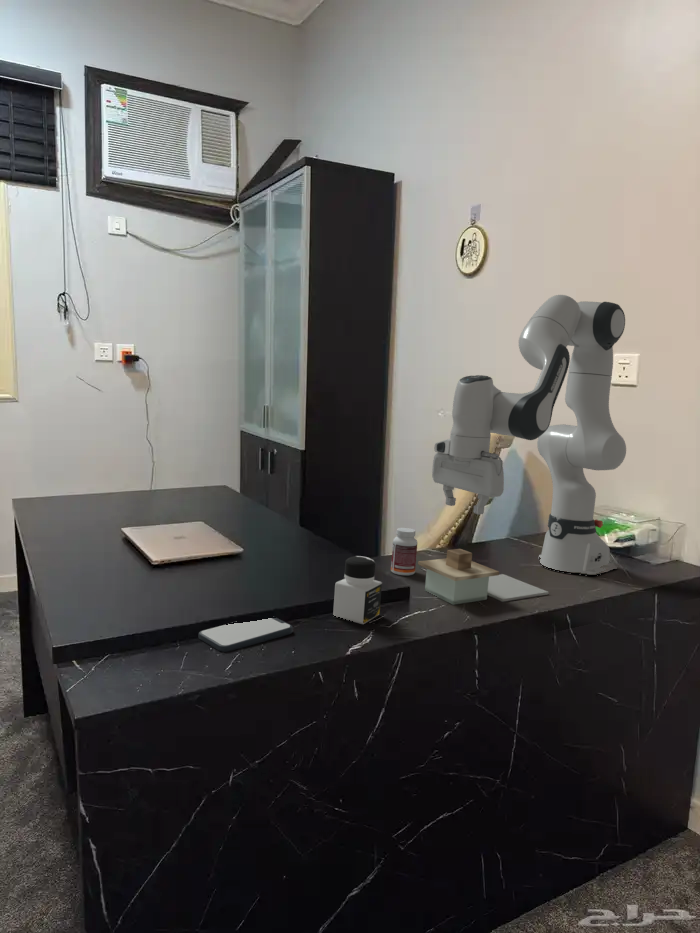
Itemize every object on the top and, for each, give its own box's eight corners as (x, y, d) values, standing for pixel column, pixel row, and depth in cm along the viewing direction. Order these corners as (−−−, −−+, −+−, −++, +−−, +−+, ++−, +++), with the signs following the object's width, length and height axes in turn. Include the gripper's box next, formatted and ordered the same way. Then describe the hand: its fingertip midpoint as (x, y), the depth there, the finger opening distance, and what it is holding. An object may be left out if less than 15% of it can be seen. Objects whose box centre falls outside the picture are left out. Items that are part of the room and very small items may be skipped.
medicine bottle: (363, 625, 133) (368, 565, 131) (332, 616, 136) (336, 558, 134) (379, 615, 139) (384, 558, 137) (349, 607, 142) (353, 551, 141)
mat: (502, 576, 174) (503, 574, 174) (548, 594, 161) (548, 591, 161) (458, 582, 166) (458, 579, 166) (502, 601, 153) (502, 599, 153)
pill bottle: (420, 574, 170) (423, 531, 168) (400, 577, 166) (404, 533, 165) (404, 567, 175) (408, 526, 174) (385, 570, 172) (389, 527, 170)
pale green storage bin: (457, 586, 162) (459, 562, 161) (486, 599, 154) (489, 573, 153) (424, 590, 157) (427, 565, 156) (453, 604, 149) (455, 578, 148)
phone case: (223, 656, 115) (295, 634, 126) (223, 647, 115) (296, 626, 126) (195, 640, 121) (266, 620, 132) (195, 631, 121) (267, 612, 132)
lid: (460, 559, 163) (462, 542, 163) (498, 575, 153) (500, 556, 152) (417, 564, 156) (419, 546, 156) (455, 581, 146) (457, 561, 145)
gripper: (513, 454, 144) (507, 518, 146) (450, 443, 161) (445, 500, 163) (491, 455, 140) (485, 520, 142) (429, 443, 158) (425, 501, 159)
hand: (464, 509), depth 153 cm, fingers open, 8 cm apart
